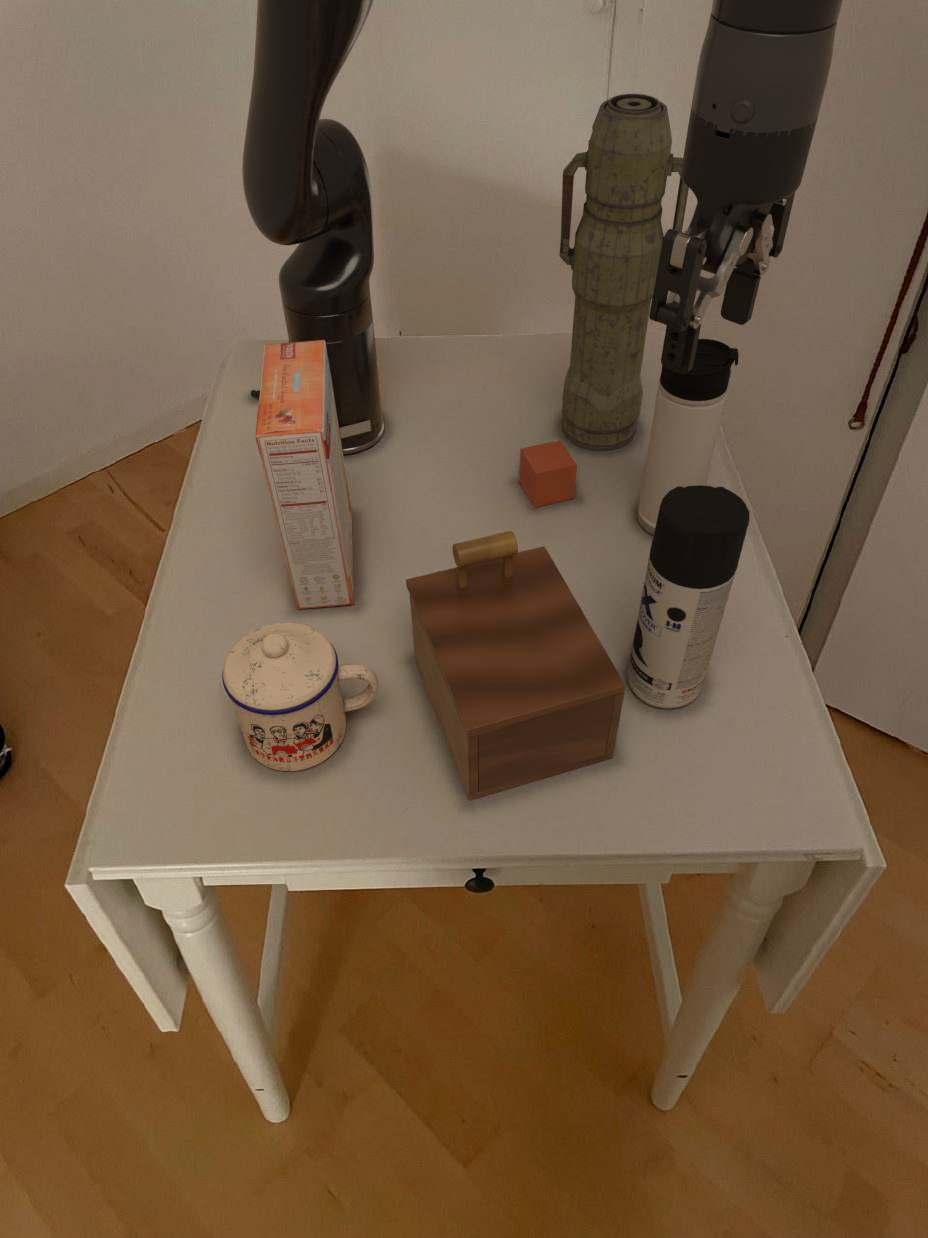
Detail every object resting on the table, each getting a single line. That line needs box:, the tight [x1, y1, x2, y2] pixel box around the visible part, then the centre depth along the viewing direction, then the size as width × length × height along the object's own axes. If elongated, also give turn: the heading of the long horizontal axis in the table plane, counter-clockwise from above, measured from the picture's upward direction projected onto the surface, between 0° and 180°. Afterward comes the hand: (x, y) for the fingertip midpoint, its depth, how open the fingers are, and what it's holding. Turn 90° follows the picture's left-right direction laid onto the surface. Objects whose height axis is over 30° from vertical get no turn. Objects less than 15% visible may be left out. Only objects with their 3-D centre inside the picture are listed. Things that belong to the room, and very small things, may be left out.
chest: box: [409, 595, 625, 801], centre depth 77 cm, size 16×13×9 cm
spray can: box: [627, 485, 751, 710], centre depth 74 cm, size 7×7×20 cm
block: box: [518, 439, 578, 509], centre depth 98 cm, size 5×5×5 cm
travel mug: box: [637, 338, 740, 536], centre depth 89 cm, size 6×7×20 cm
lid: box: [405, 530, 626, 736], centre depth 72 cm, size 16×13×5 cm
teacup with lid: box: [221, 622, 379, 772], centre depth 74 cm, size 12×9×12 cm
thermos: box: [558, 93, 690, 452], centre depth 95 cm, size 9×12×35 cm
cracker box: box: [255, 340, 355, 610], centre depth 85 cm, size 14×6×21 cm, turn 5°
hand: (705, 343), depth 67 cm, fingers open, 8 cm apart
